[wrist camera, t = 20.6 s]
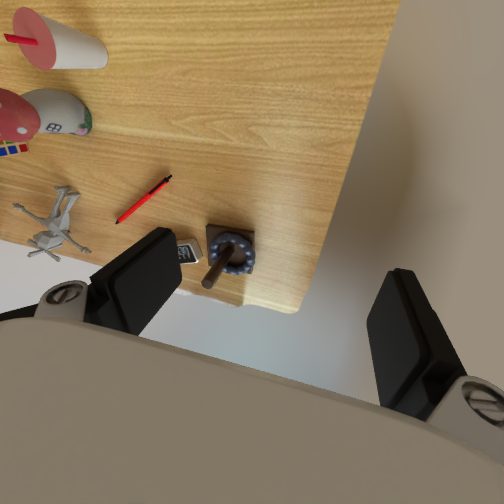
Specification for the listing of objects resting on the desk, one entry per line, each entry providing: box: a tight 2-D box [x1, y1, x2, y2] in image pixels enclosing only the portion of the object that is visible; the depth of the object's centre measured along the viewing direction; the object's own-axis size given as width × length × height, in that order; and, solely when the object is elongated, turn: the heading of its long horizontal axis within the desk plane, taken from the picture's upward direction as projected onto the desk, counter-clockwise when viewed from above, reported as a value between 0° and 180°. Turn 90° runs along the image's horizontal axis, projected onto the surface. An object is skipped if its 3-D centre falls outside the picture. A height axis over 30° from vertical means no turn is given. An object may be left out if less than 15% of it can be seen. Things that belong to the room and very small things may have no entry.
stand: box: [201, 224, 255, 289], centre depth 41 cm, size 9×9×11 cm
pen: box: [115, 175, 172, 224], centre depth 45 cm, size 1×19×1 cm, turn 126°
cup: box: [4, 7, 108, 70], centre depth 29 cm, size 5×5×12 cm
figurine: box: [12, 186, 92, 262], centre depth 51 cm, size 18×8×16 cm
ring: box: [209, 233, 255, 275], centre depth 44 cm, size 9×9×2 cm
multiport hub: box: [176, 238, 203, 264], centre depth 49 cm, size 4×11×2 cm, turn 106°
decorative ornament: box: [0, 88, 92, 143], centre depth 34 cm, size 9×7×15 cm
